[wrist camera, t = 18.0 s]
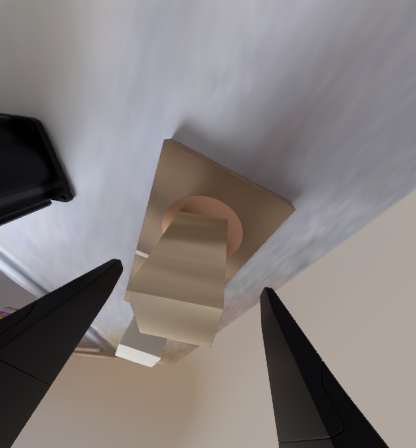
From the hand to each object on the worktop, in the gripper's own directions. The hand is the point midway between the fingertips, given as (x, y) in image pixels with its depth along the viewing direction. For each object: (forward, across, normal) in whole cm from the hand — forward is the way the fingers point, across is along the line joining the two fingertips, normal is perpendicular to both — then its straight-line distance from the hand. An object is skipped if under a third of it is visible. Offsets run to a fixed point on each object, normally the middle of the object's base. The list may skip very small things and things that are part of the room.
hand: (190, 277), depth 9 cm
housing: (+6, +7, +21) cm, 23 cm away
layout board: (+6, +2, +5) cm, 8 cm away
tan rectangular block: (+4, 0, 0) cm, 4 cm away
